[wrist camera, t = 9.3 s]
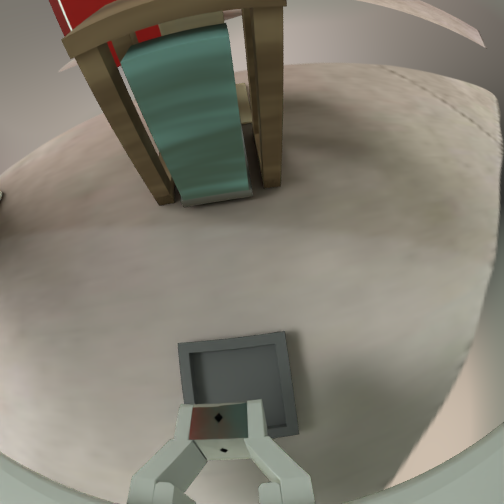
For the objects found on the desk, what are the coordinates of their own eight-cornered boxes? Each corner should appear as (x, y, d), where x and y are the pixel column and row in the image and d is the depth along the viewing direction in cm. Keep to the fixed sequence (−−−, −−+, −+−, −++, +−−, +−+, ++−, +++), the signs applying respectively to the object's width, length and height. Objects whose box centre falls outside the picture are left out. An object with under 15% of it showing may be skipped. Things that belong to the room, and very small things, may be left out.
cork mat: (253, 122, 22) (253, 121, 22) (175, 136, 22) (175, 134, 22) (244, 84, 25) (244, 83, 25) (180, 95, 25) (179, 94, 25)
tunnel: (282, 188, 19) (286, -18, 6) (157, 208, 19) (61, 39, 6) (267, 130, 22) (259, -30, 8) (163, 148, 22) (105, 5, 9)
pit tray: (297, 429, 13) (299, 434, 12) (195, 438, 13) (190, 442, 12) (283, 332, 15) (284, 331, 14) (182, 344, 15) (177, 343, 14)
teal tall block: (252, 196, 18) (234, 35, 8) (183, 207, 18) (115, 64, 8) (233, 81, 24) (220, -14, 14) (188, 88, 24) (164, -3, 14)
